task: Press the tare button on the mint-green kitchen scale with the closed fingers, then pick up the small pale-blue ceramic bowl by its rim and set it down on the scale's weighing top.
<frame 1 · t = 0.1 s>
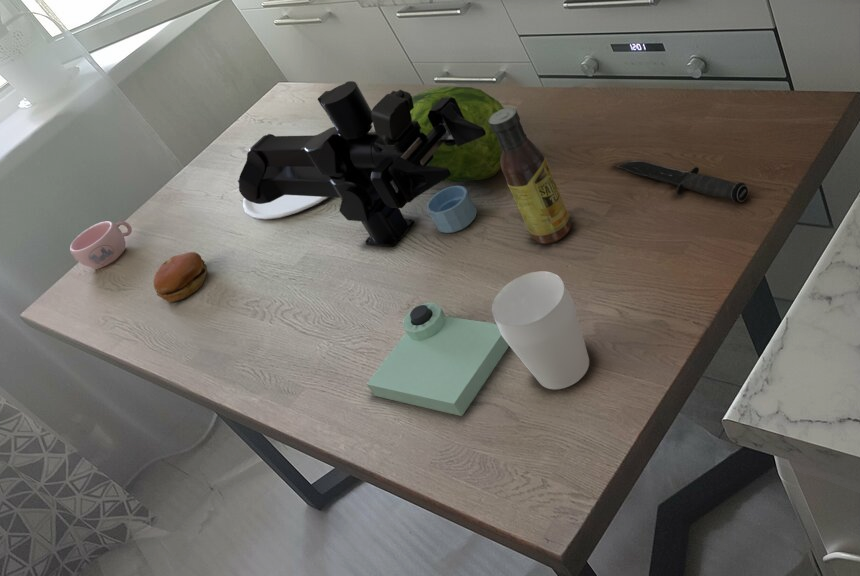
hand: (467, 151, 115), 17 cm above the table, tool horizontal, fingers open, 9 cm apart
burger: (187, 285, 152), on the table
mug: (115, 255, 173), on the table
bowl: (458, 221, 135), on the table
cup: (564, 370, 101), on the table
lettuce: (463, 171, 147), on the table
scale: (444, 367, 109), on the table
plate: (312, 175, 167), on the table
tare button: (420, 315, 112), point 4 cm above the table, slide at 0.1 cm
knife: (677, 183, 121), on the table
sauce bottle: (553, 232, 123), on the table
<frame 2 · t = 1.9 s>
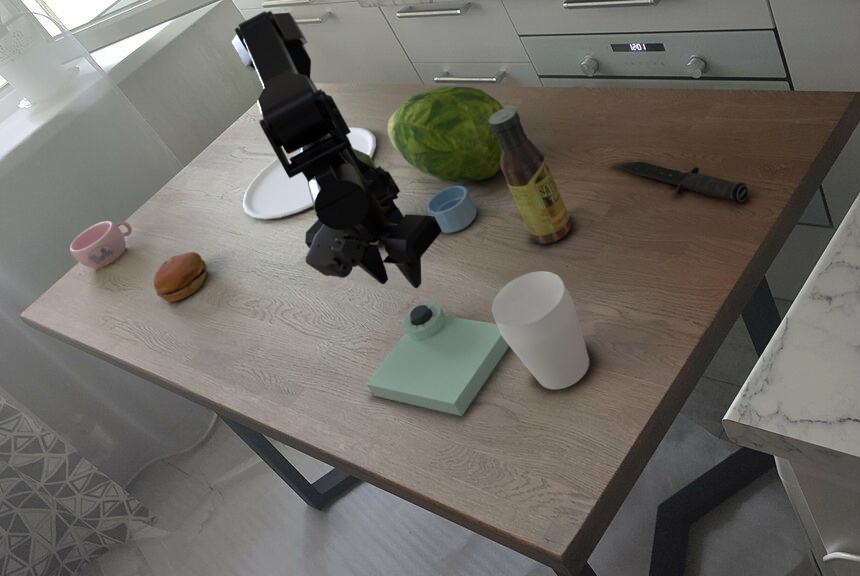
hand: (401, 284, 109), 10 cm above the table, tool pointing down, fingers open, 6 cm apart
nothing on the table moved.
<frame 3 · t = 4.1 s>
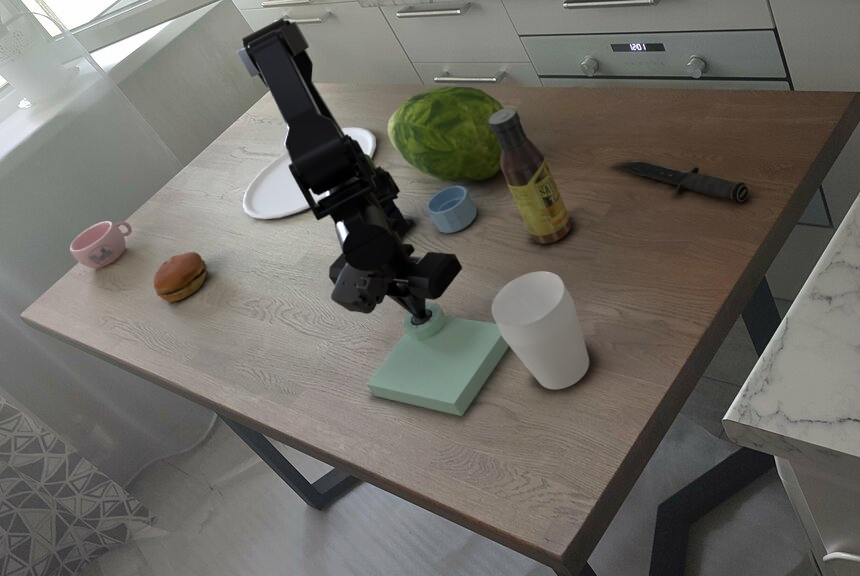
hand: (421, 316, 112), 4 cm above the table, tool pointing down, fingers closed, pressing on tare button
tare button: (423, 320, 113), point 3 cm above the table, slide at -0.8 cm, touching gripper
everything else where it was.
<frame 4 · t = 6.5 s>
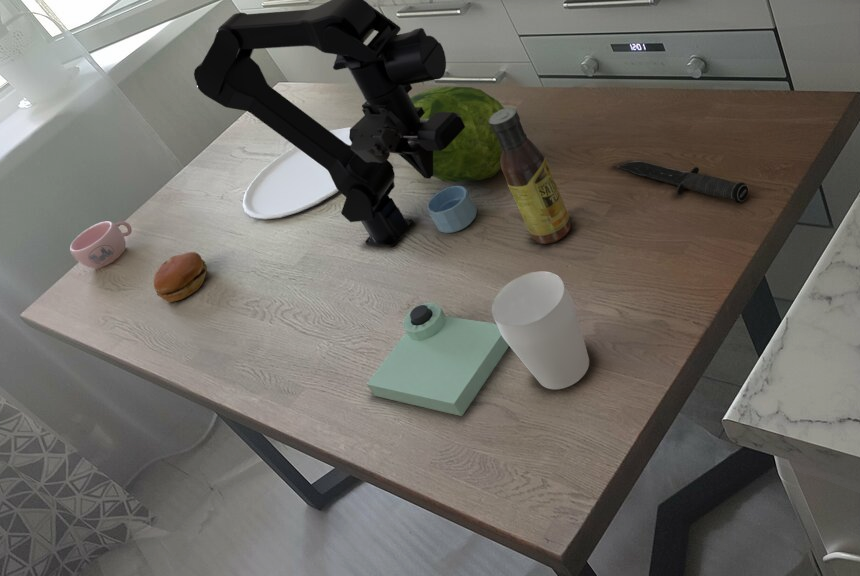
hand: (429, 177, 127), 10 cm above the table, tool pointing down, fingers closed
tare button: (420, 315, 112), point 4 cm above the table, slide at 0.1 cm
everything else where it was.
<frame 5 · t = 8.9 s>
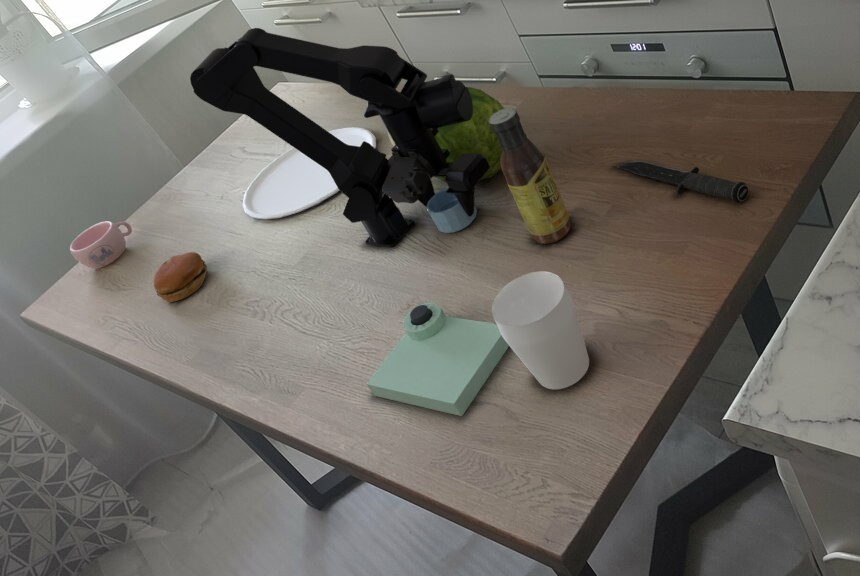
hand: (454, 213, 134), 2 cm above the table, tool pointing down, fingers closed on bowl, 7 cm apart
bowl: (458, 221, 135), on the table, touching gripper
everything else where it was.
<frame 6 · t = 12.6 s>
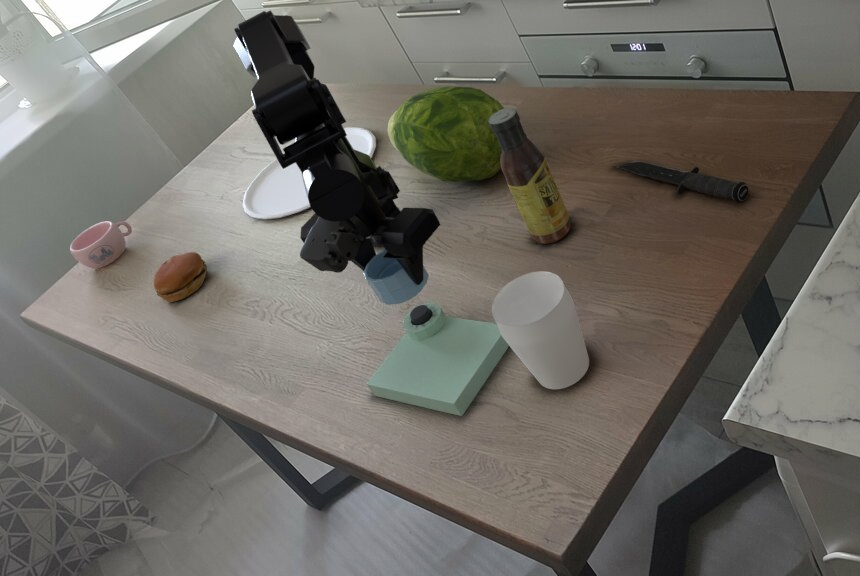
hand: (399, 280, 106), 12 cm above the table, tool pointing down, fingers closed on bowl, 7 cm apart
bowl: (405, 288, 107), point 11 cm above the table, touching gripper
everything else where it was.
when the fingers open (4 cm above the table, at t = 16.4 s): bowl stays where it is, resting on scale.
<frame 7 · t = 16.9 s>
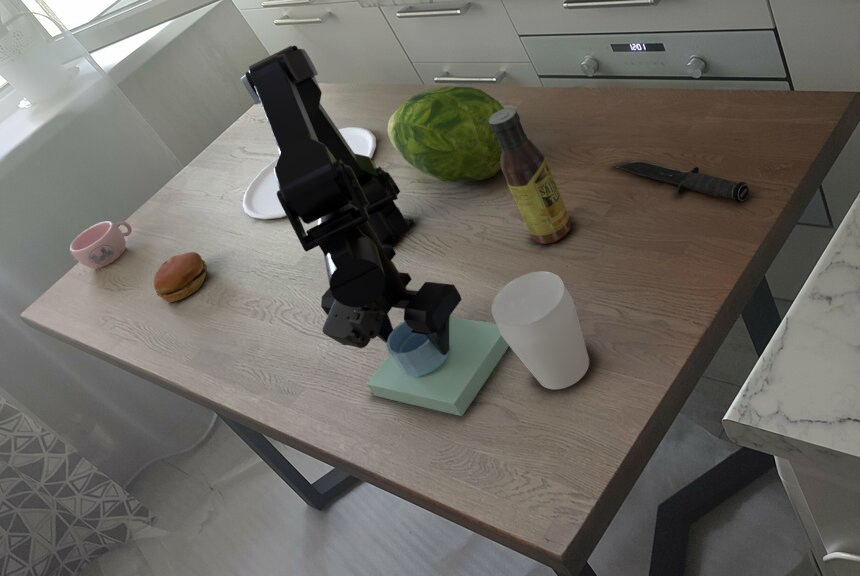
hand: (419, 347, 107), 5 cm above the table, tool pointing down, fingers open, 9 cm apart
bowl: (427, 358, 108), point 2 cm above the table, touching scale
everything else where it was.
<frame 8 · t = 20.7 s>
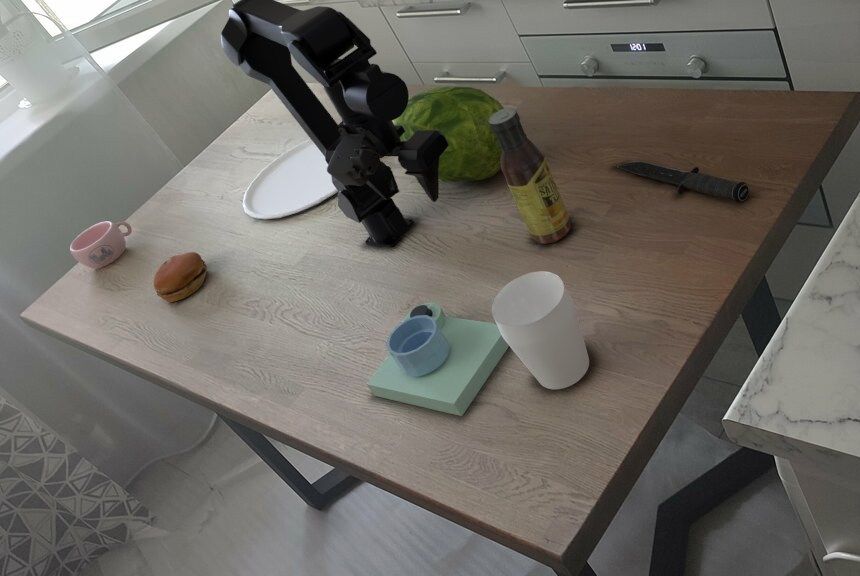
hand: (411, 199, 120), 12 cm above the table, tool pointing down, fingers open, 9 cm apart
nothing on the table moved.
at the end: tare button pushed in 0.9 cm at the most during the clip, back to where it started at the end; bowl inside the target area on the scale (0.1 cm from its centre), point 2.4 cm above the scale's base; bowl tilted 0° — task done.
